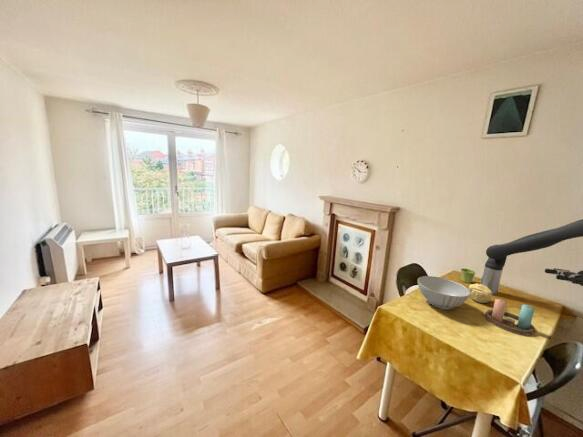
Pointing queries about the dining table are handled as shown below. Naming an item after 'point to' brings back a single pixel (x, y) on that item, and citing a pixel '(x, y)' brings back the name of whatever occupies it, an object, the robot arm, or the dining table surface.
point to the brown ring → (509, 323)
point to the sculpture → (480, 293)
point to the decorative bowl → (443, 292)
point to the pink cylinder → (499, 310)
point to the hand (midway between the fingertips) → (550, 273)
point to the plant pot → (467, 275)
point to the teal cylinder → (525, 317)
